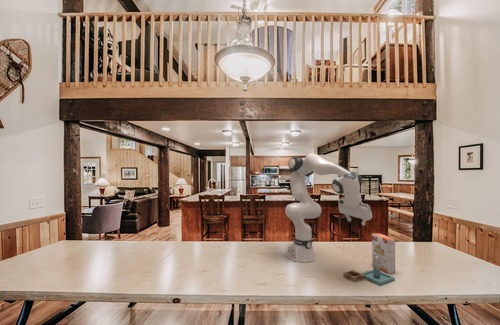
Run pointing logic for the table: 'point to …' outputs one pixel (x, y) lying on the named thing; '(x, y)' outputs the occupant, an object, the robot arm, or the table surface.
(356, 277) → the collar
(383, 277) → the tray
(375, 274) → the peg
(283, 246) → the table surface
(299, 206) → the robot arm
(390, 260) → the cracker box
